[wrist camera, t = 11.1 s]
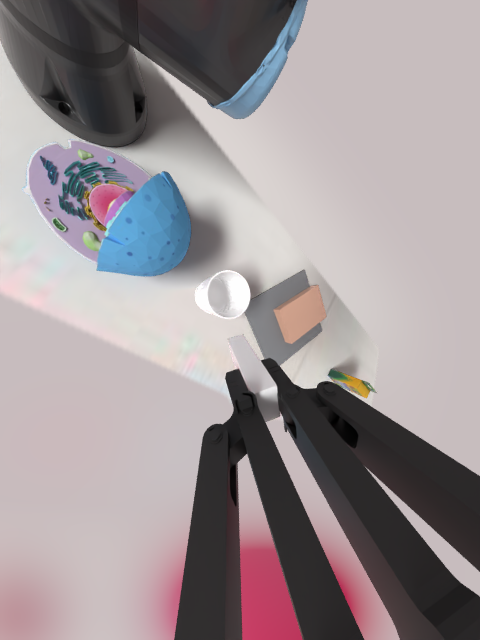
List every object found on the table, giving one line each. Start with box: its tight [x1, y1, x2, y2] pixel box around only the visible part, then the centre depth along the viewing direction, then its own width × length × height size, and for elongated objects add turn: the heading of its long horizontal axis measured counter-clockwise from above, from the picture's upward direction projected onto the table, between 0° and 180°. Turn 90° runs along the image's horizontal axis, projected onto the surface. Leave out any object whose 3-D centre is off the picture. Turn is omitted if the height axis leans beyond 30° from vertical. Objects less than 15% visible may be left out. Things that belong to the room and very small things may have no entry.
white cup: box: [195, 270, 250, 319], centre depth 33 cm, size 8×8×10 cm
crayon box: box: [328, 369, 377, 398], centre depth 56 cm, size 7×3×12 cm, turn 49°
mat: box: [245, 270, 322, 366], centre depth 48 cm, size 20×22×1 cm
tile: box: [273, 285, 327, 344], centre depth 48 cm, size 10×2×15 cm
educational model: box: [22, 139, 191, 276], centre depth 22 cm, size 16×19×15 cm
